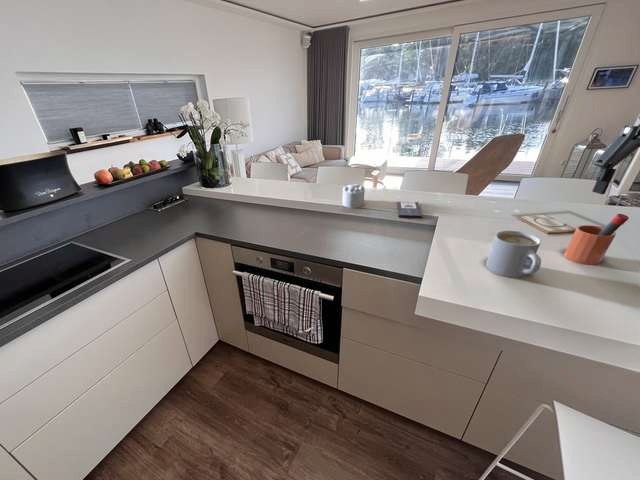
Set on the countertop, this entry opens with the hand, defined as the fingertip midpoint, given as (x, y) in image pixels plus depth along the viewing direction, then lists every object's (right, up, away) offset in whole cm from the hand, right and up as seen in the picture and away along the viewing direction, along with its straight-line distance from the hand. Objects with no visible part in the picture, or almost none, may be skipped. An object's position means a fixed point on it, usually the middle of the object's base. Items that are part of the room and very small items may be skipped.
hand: (624, 190), depth 77 cm
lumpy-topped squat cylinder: (-56, +11, +67) cm, 88 cm away
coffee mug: (-27, -22, +6) cm, 35 cm away
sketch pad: (+11, -5, +29) cm, 32 cm away
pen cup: (-3, -18, +9) cm, 20 cm away
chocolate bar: (-35, +5, +53) cm, 63 cm away
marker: (-3, -17, +8) cm, 19 cm away
